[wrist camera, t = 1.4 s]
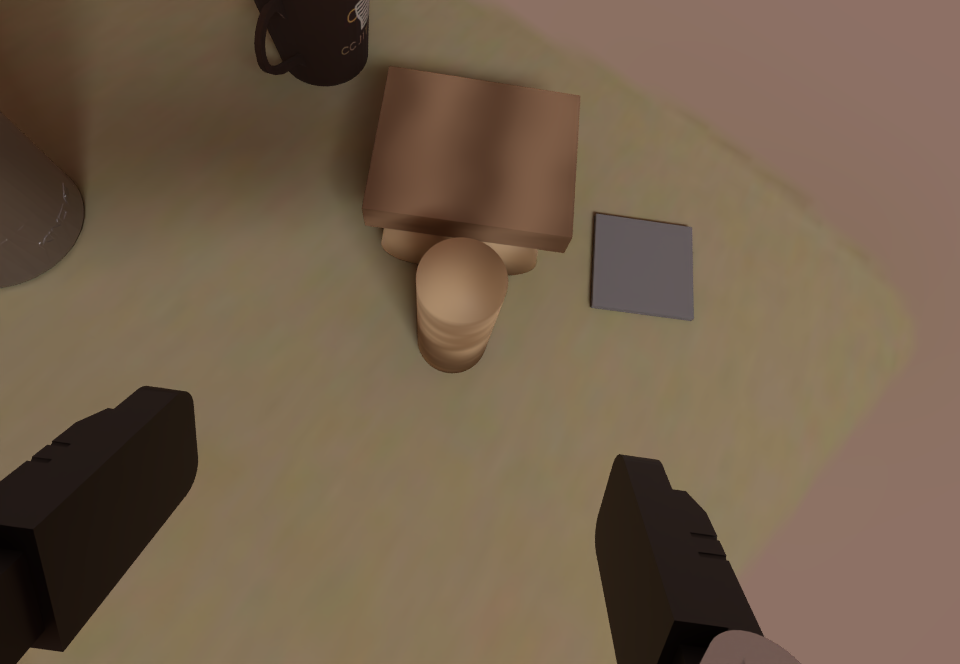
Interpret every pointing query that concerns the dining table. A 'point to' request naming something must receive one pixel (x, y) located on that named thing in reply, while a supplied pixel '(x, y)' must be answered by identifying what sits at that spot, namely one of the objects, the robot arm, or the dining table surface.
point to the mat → (642, 267)
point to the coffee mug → (314, 38)
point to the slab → (472, 167)
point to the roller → (458, 302)
